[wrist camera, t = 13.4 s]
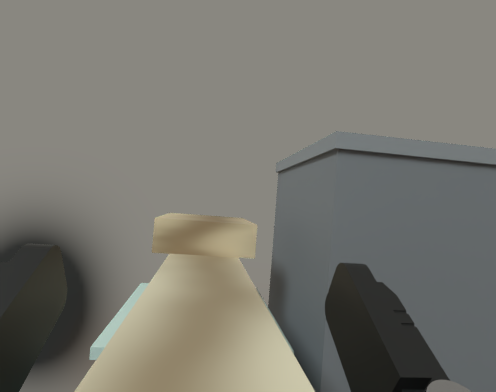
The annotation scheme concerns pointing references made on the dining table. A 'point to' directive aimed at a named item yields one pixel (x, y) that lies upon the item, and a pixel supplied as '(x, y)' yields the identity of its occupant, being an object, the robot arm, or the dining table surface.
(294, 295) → the stand
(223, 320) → the beige stepped bar
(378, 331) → the robot arm
